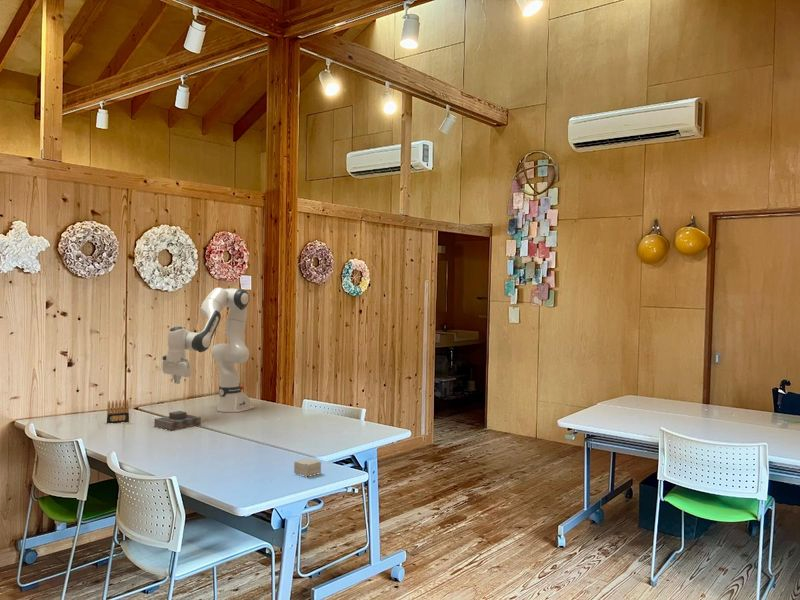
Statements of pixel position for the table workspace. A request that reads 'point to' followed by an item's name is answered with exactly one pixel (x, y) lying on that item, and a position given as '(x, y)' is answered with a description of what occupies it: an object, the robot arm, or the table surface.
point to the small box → (307, 467)
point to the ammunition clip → (118, 412)
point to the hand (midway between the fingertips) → (176, 383)
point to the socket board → (177, 422)
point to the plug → (177, 415)
